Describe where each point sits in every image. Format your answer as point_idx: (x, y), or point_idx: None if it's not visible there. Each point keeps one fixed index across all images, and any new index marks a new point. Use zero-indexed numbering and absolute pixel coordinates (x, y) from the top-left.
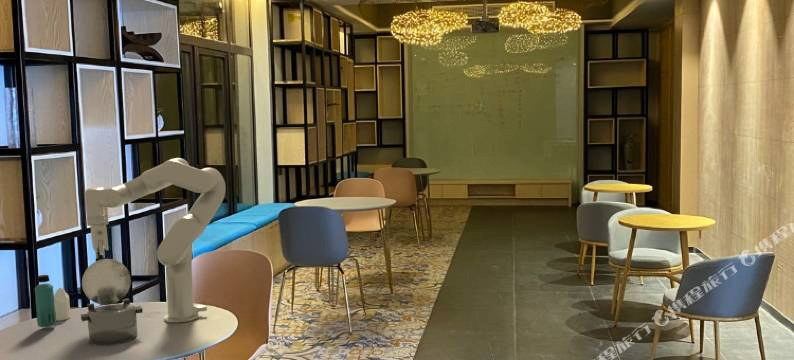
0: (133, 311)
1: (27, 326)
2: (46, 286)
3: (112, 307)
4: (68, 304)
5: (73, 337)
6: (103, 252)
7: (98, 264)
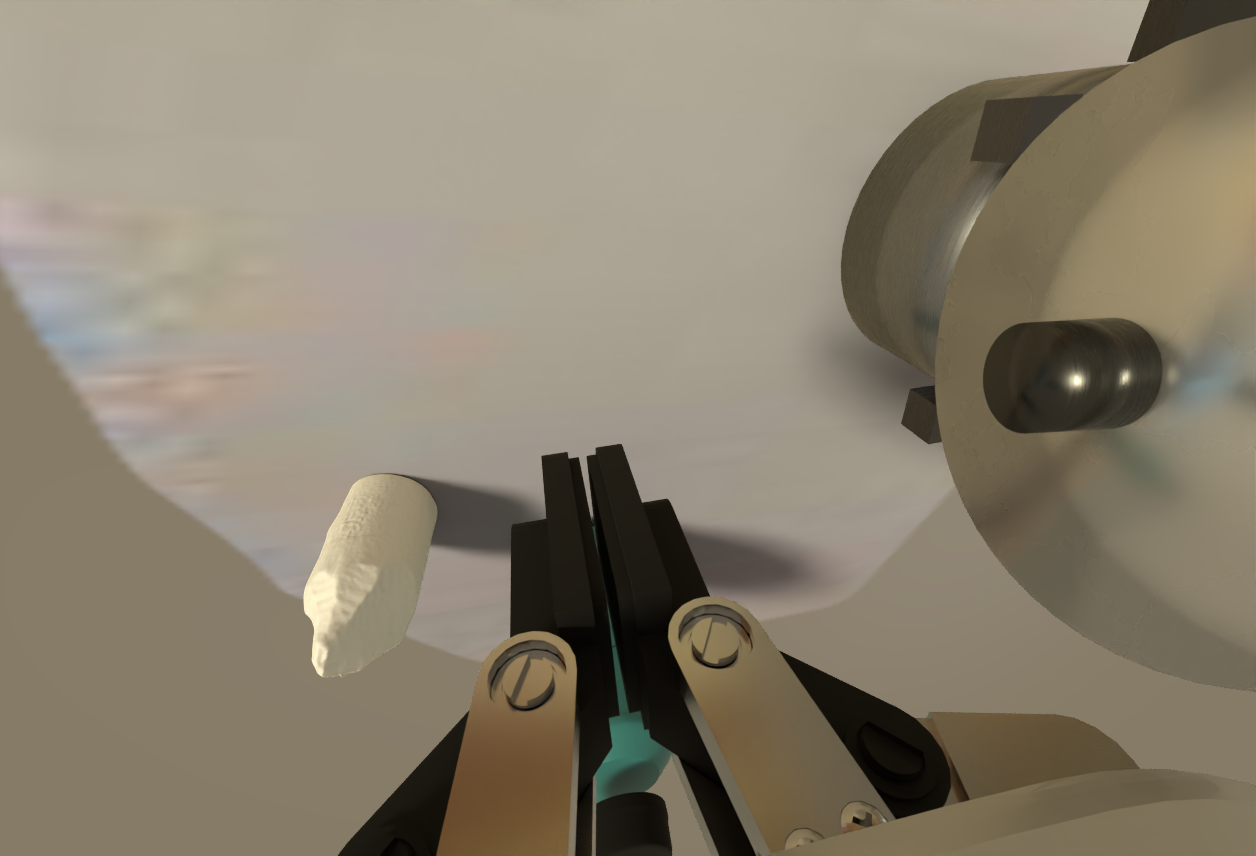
0: None
1: (496, 617)
2: (660, 756)
3: None
4: (384, 533)
5: (805, 424)
6: (854, 783)
7: None
